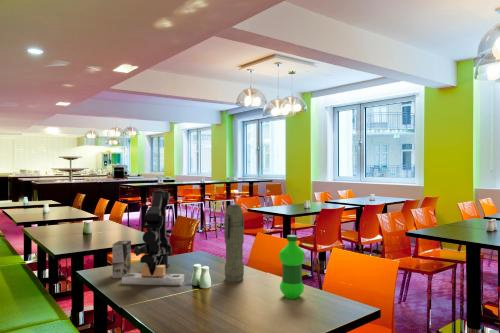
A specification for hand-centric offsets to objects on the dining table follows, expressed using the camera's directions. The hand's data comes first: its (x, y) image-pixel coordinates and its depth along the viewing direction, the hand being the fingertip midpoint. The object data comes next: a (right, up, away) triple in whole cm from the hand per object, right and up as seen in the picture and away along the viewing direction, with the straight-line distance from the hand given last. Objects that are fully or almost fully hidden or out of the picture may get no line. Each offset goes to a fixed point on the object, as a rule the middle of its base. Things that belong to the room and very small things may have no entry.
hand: (153, 273), depth 182 cm
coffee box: (-18, -4, +11) cm, 21 cm away
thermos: (+37, -4, +4) cm, 37 cm away
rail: (0, -4, 0) cm, 4 cm away
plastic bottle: (+61, -5, -19) cm, 64 cm away
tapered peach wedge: (0, -3, 0) cm, 3 cm away
